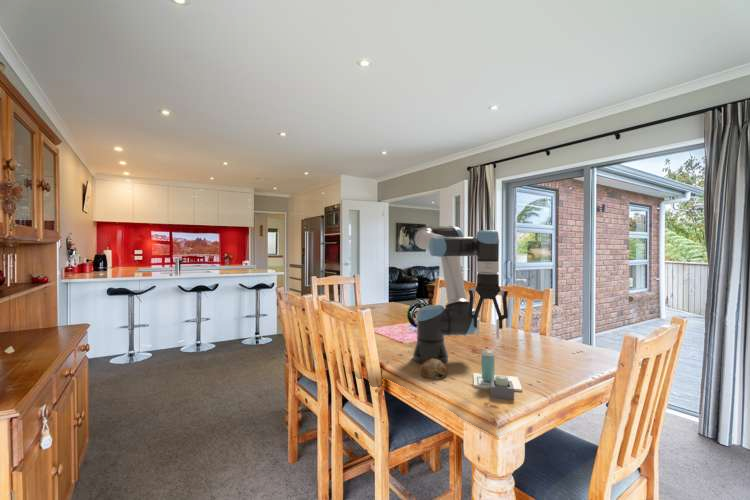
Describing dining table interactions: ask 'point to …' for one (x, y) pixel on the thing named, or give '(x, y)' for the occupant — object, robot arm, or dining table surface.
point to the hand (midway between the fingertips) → (487, 336)
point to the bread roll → (433, 369)
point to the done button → (501, 381)
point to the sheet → (481, 384)
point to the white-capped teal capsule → (487, 365)
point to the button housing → (502, 390)
